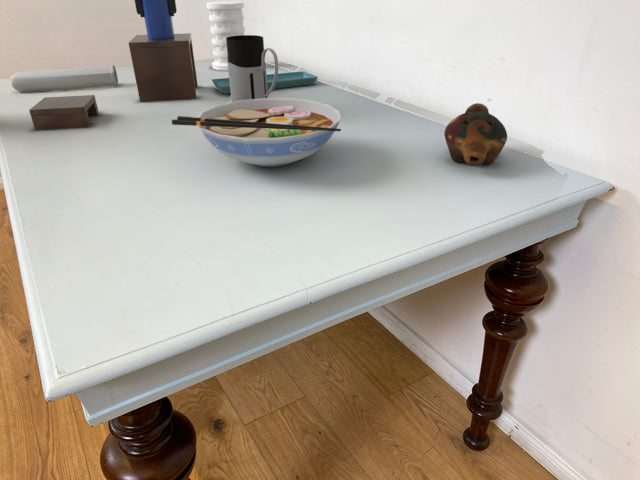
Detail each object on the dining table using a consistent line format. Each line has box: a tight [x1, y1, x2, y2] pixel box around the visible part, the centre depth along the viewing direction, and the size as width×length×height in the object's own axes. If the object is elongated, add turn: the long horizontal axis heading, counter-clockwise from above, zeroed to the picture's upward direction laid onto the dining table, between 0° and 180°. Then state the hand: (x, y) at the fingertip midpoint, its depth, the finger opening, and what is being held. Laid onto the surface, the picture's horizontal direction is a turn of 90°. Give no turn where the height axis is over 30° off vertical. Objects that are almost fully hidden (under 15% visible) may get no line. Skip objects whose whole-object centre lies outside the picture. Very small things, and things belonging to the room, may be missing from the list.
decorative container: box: [205, 0, 246, 72], centre depth 144 cm, size 12×12×18 cm
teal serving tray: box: [211, 70, 319, 95], centre depth 124 cm, size 26×9×2 cm, turn 117°
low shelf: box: [29, 94, 100, 131], centre depth 98 cm, size 10×10×4 cm
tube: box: [10, 64, 119, 93], centre depth 124 cm, size 5×5×25 cm
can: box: [141, 0, 175, 40], centre depth 110 cm, size 6×6×9 cm
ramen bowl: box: [171, 97, 342, 168], centre depth 77 cm, size 25×23×8 cm
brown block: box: [128, 32, 199, 103], centre depth 116 cm, size 13×13×13 cm
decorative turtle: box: [444, 102, 508, 167], centre depth 77 cm, size 10×15×8 cm, turn 170°
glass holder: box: [226, 34, 279, 102], centre depth 99 cm, size 9×14×15 cm, turn 44°
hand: (157, 16), depth 110 cm, fingers closed on can, 6 cm apart
